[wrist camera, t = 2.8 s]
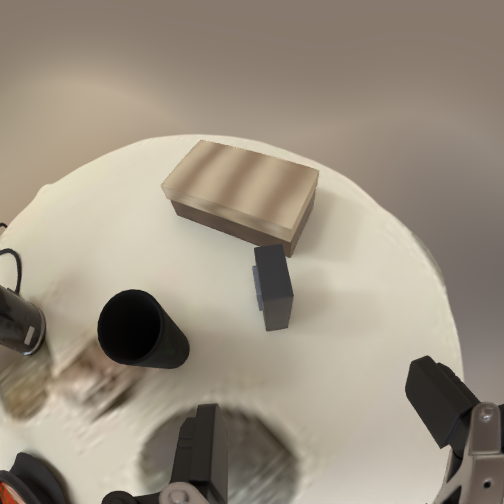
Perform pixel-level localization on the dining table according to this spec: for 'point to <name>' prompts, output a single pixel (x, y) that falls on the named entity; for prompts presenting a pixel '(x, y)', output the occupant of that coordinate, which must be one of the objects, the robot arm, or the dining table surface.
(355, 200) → the dining table surface
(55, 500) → the casserole
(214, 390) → the dining table surface
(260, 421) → the dining table surface
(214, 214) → the lidded shoe box
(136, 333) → the cup
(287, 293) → the dark grey rectangular block
